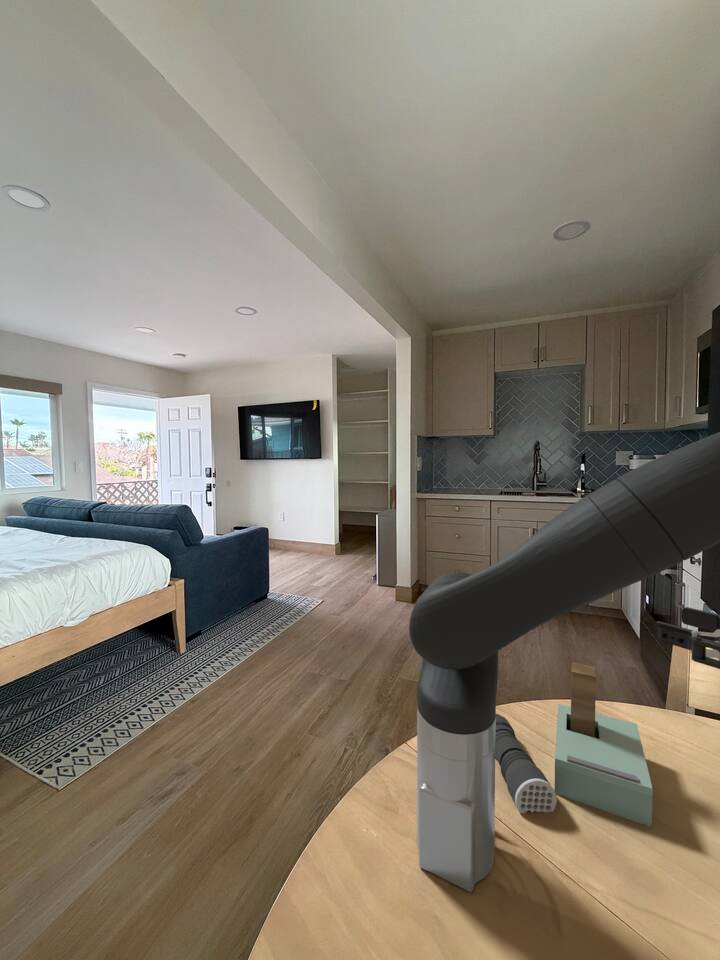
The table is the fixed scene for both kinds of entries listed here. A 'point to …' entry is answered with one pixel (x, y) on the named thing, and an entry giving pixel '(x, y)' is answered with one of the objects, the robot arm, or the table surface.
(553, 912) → the table surface
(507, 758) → the flashlight
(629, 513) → the robot arm
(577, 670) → the wooden peg
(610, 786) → the peg-in-hole base
